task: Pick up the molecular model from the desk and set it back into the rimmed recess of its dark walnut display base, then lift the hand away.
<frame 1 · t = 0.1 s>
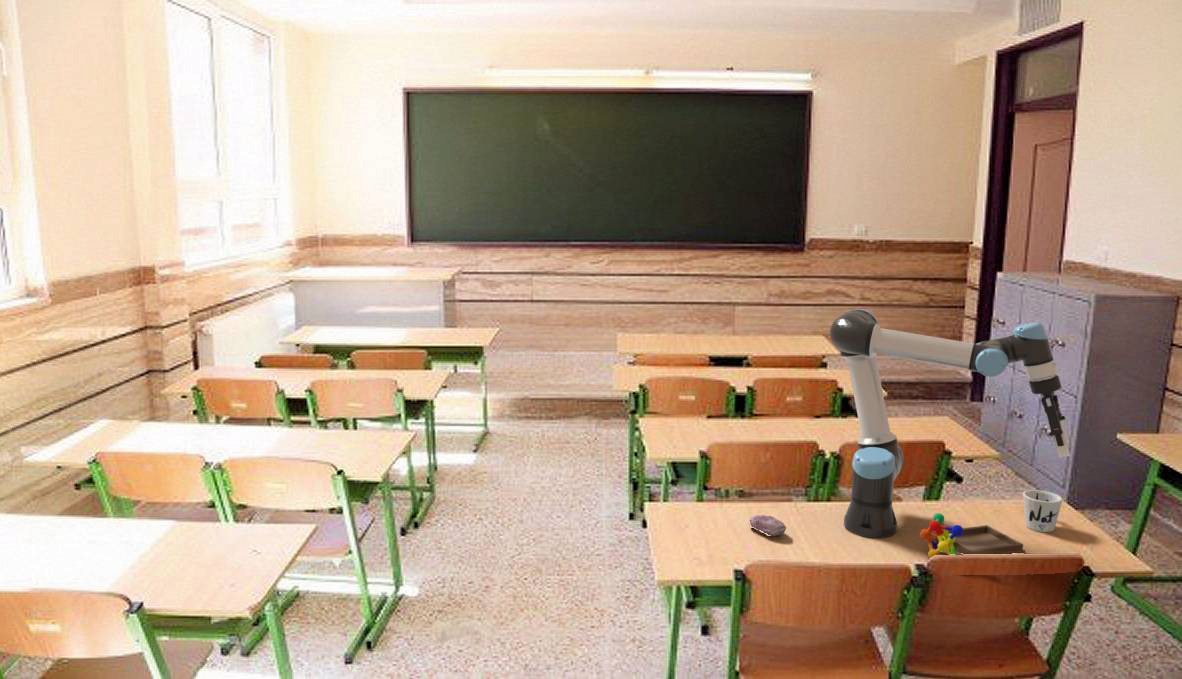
hand: (1064, 450, 232), 28 cm above the table, tool tilted 20°, fingers open, 13 cm apart
display base: (978, 546, 235), on the table
fossil: (767, 533, 246), on the table
mug: (1037, 525, 250), on the table
molecular model: (940, 559, 227), on the table
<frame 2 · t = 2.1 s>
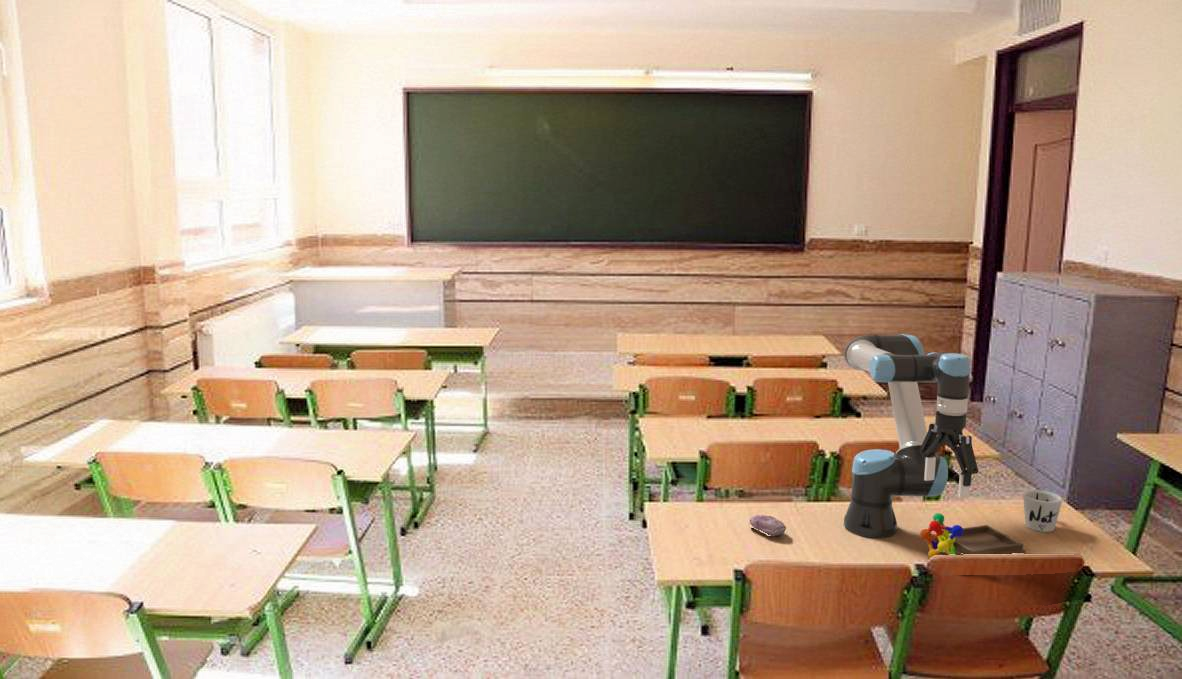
hand: (945, 488, 224), 20 cm above the table, tool pointing down, fingers open, 13 cm apart
nothing on the table moved.
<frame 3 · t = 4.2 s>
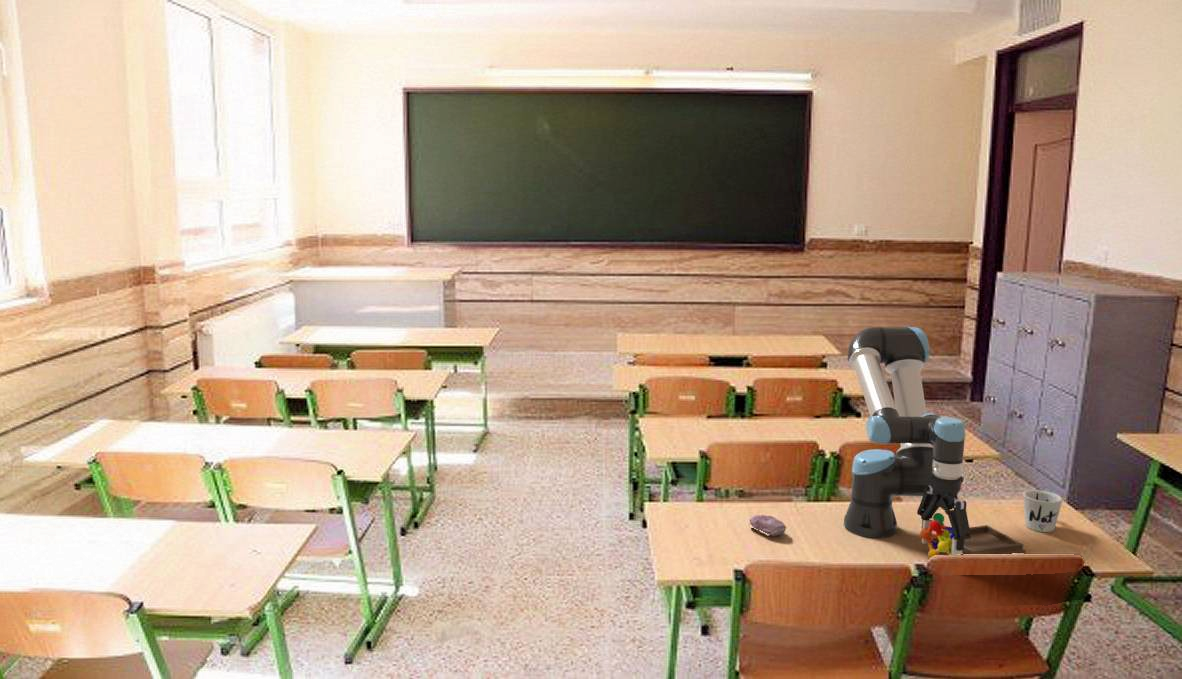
hand: (941, 551, 227), 2 cm above the table, tool pointing down, fingers closed on molecular model, 11 cm apart
molecular model: (940, 559, 227), on the table, touching gripper
everything else where it was.
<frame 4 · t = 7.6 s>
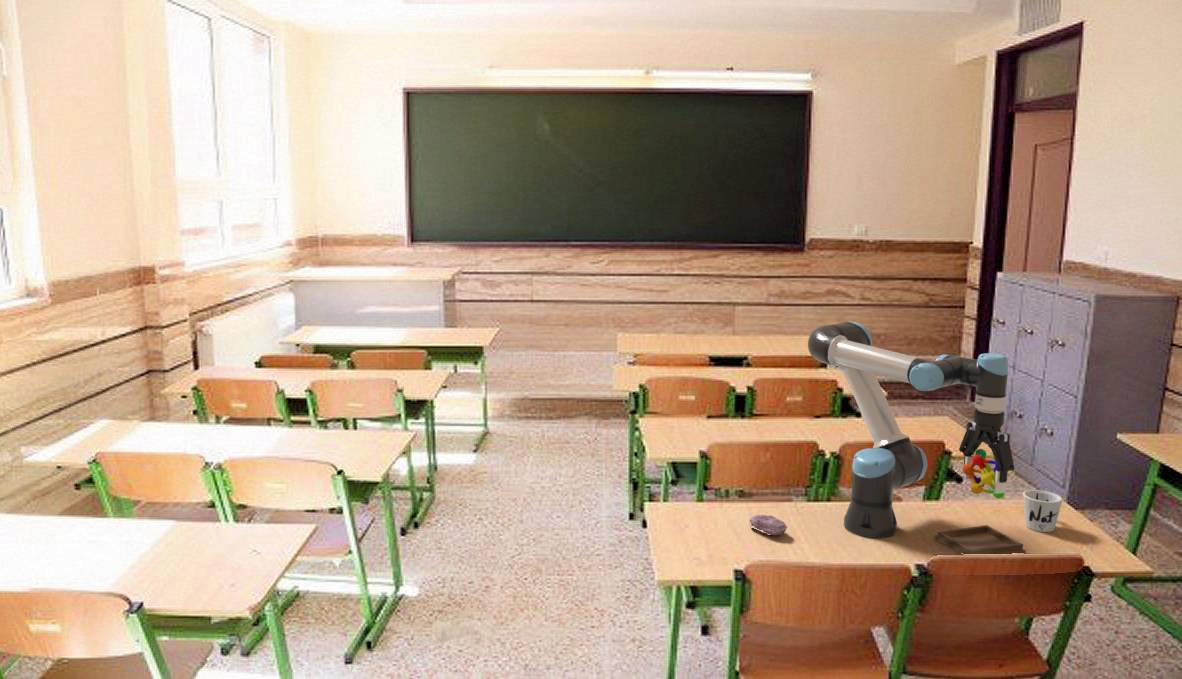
hand: (983, 485, 232), 18 cm above the table, tool pointing down, fingers closed on molecular model, 11 cm apart
molecular model: (982, 493, 232), point 16 cm above the table, touching gripper
everything else where it was.
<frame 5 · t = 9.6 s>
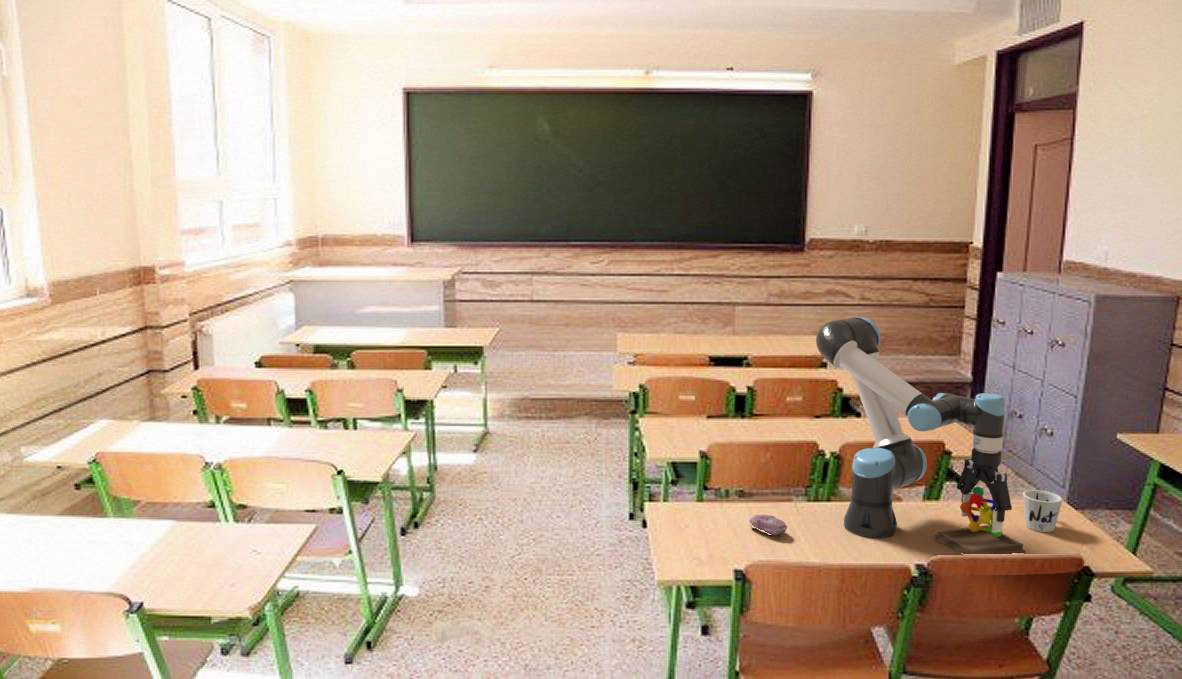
hand: (981, 523, 234), 7 cm above the table, tool pointing down, fingers closed on molecular model, 11 cm apart
molecular model: (980, 531, 234), point 4 cm above the table, touching gripper
everything else where it was.
when the fingers open (5 cm above the table, at t = 11.2 s): molecular model drops 1 cm, resting on display base.
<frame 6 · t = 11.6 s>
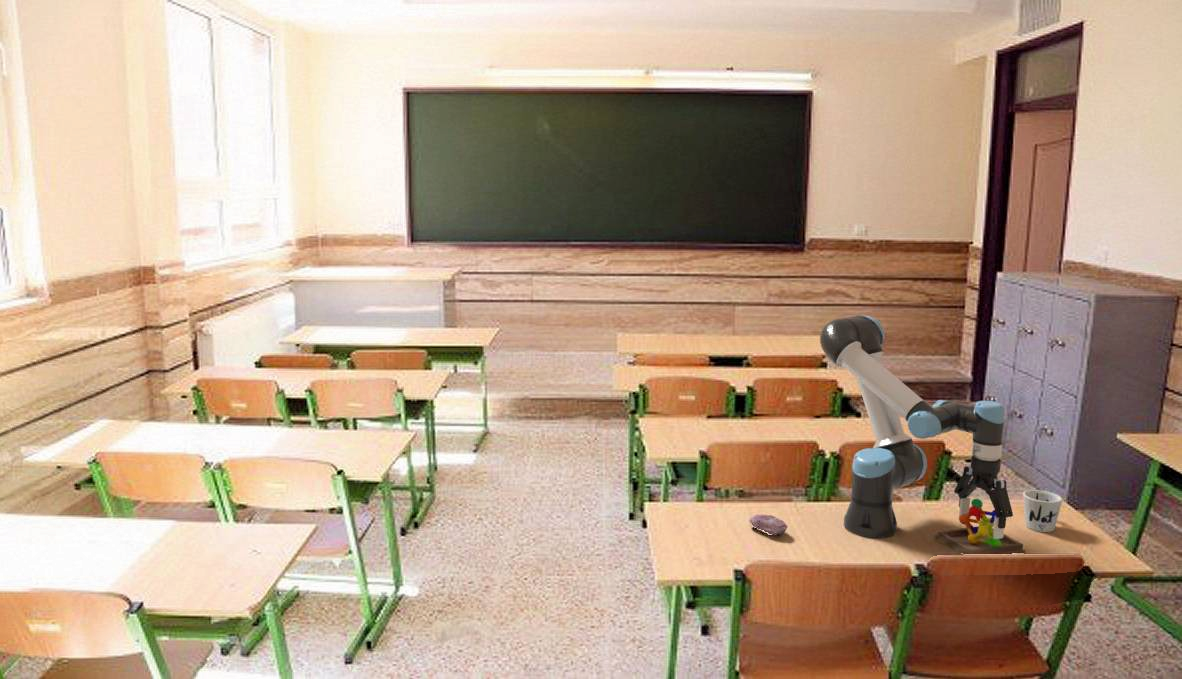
hand: (980, 528, 234), 5 cm above the table, tool pointing down, fingers open, 13 cm apart
molecular model: (979, 543, 235), point 1 cm above the table, touching display base
everything else where it was.
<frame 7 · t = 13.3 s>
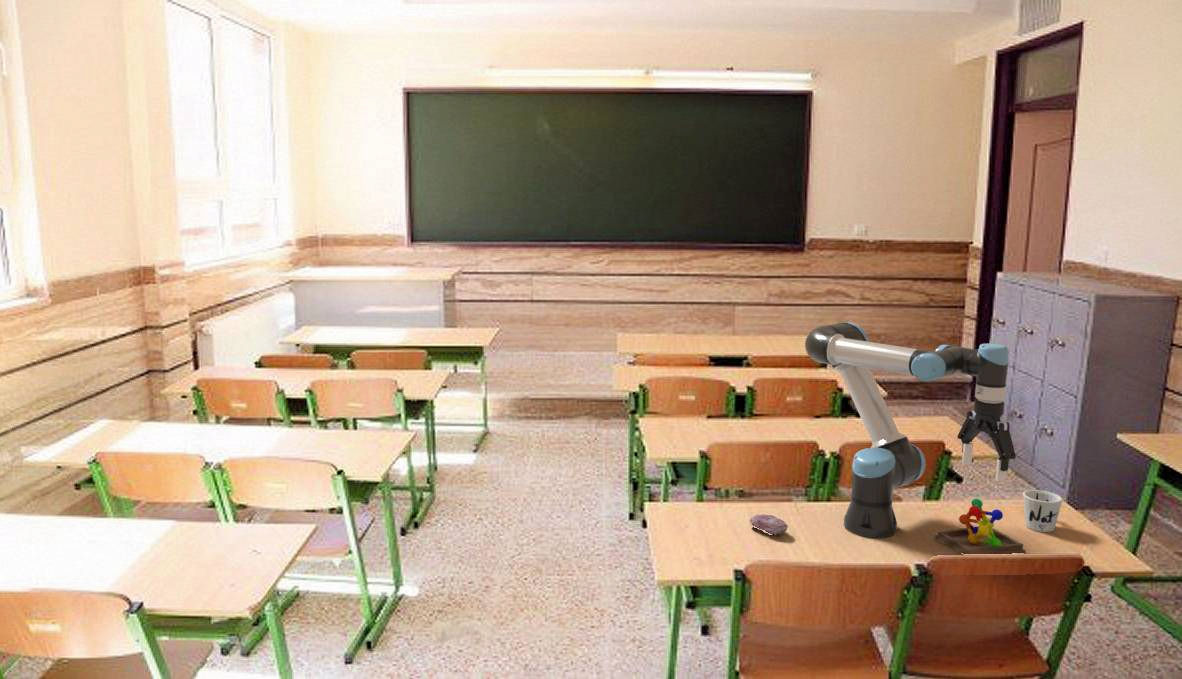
hand: (983, 473, 233), 21 cm above the table, tool pointing down, fingers open, 13 cm apart
nothing on the table moved.
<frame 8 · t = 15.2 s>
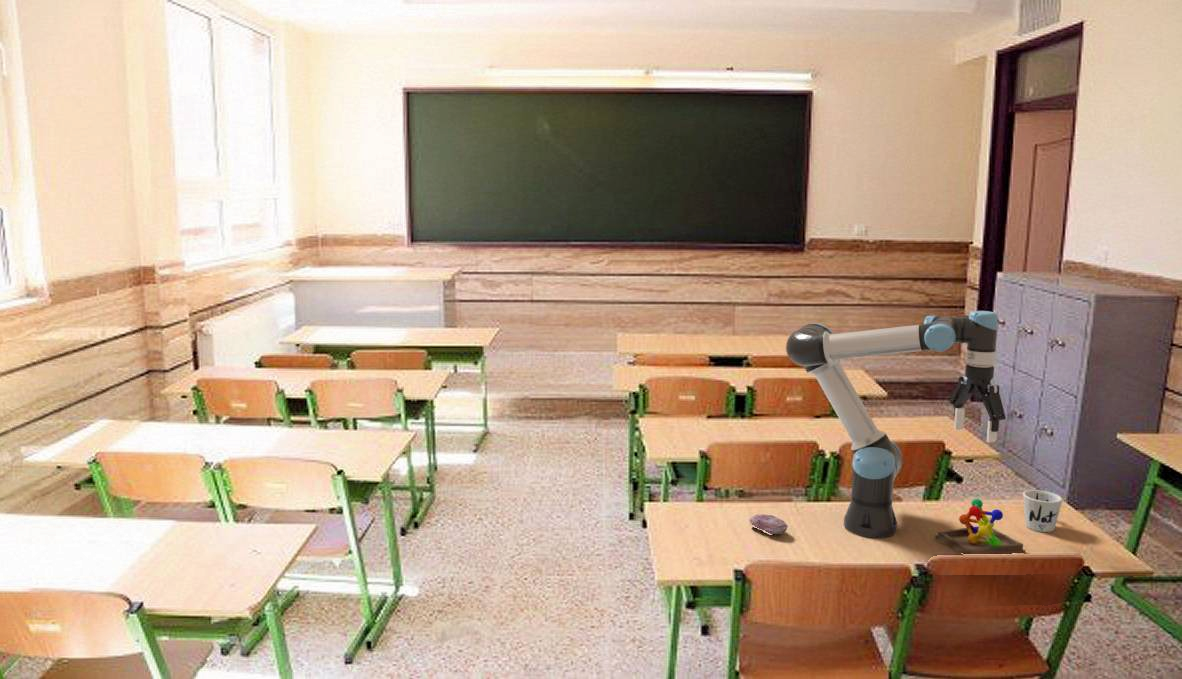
hand: (974, 435, 243), 29 cm above the table, tool pointing down, fingers open, 13 cm apart
nothing on the table moved.
at the end: molecular model 0.2 cm off-centre on the display base, point 0.8 cm above the display base's base; molecular model tilted 1°; the gripper is holding nothing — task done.
